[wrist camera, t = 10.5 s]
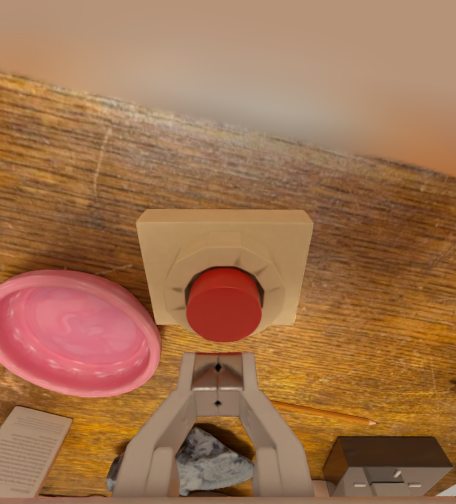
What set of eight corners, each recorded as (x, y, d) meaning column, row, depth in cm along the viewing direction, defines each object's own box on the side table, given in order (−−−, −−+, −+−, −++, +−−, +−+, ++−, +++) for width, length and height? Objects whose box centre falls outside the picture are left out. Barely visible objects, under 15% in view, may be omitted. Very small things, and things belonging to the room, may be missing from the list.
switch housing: (434, 436, 30) (455, 469, 27) (405, 470, 35) (420, 500, 32) (338, 436, 30) (349, 468, 27) (322, 470, 35) (330, 500, 32)
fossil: (262, 461, 34) (266, 501, 31) (148, 480, 37) (140, 518, 33) (234, 415, 28) (235, 458, 24) (100, 441, 31) (84, 483, 27)
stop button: (261, 266, 13) (265, 286, 12) (256, 320, 15) (259, 342, 14) (187, 266, 13) (182, 286, 12) (192, 319, 15) (188, 342, 14)
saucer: (34, 219, 16) (-6, 242, 13) (196, 305, 19) (190, 337, 17) (-5, 329, 21) (-41, 362, 18) (129, 380, 24) (117, 414, 22)
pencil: (221, 392, 26) (221, 400, 25) (224, 388, 26) (223, 396, 25) (374, 421, 29) (378, 429, 28) (378, 418, 29) (382, 426, 28)
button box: (303, 209, 15) (325, 237, 12) (287, 304, 19) (300, 346, 16) (146, 208, 15) (122, 236, 12) (162, 304, 19) (148, 346, 16)
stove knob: (405, 482, 30) (423, 521, 27) (401, 487, 30) (418, 525, 28) (372, 482, 30) (387, 521, 27) (369, 487, 30) (383, 525, 28)
